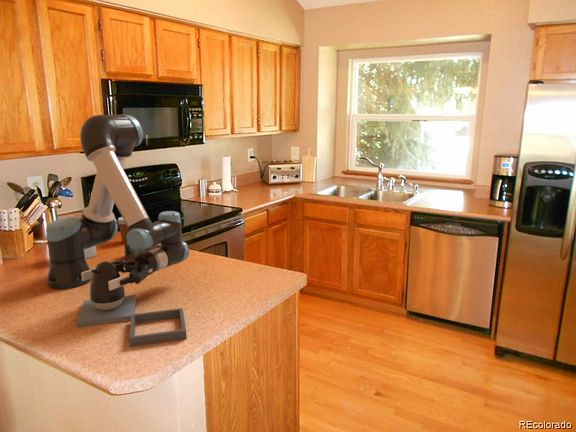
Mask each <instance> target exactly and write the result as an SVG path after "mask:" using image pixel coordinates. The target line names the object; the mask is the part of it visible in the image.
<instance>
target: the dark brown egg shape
mask: <svg viewBox="0 0 576 432" xmlns="http://www.w3.org/2000/svg"><path fill="white" fill-rule="evenodd" d="M111 262H112V261H107V260H104V261H101V262H99V263H97V264H98V265H96V267H95V268H96V269H94V268H91V269H92V270H91V269H90V270H91V272H92V273H93V277H92V280H91V281H90V287H89V300H91V301H92V303H93V305H94V306H95V307H96V308H97V309H100V310H105V311H106V310H112V309H115V308H117V307H118V306H119V305H120V304H121V303H122V301H123V298H124V296H126V293H125V291H126V290H125V285H124V286H121V287H118V288H116V289H113V290H109V285H108V281H111V280H114V279H116V278H119V277H121V274H120V272H118V270H117V269H116V267H115V266H114V265H113V264H112V263H111Z"/></svg>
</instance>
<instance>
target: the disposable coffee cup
mask: <svg viewBox="0 0 576 432" xmlns="http://www.w3.org/2000/svg"><path fill="white" fill-rule="evenodd" d="M116 221H117V222H116V223H117V224H118V228H119V232H120V236H121V240H122V243H124V244H128V243H127V234H128V232H129V229H128V227H127V225H126V223H125V221H124V219H123V217H122V216H121V217H118V218H117V220H116Z"/></svg>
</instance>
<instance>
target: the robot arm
mask: <svg viewBox="0 0 576 432" xmlns="http://www.w3.org/2000/svg"><path fill="white" fill-rule="evenodd" d="M79 139H80V140H79V141H80V145H81V147H82V148H81V149H82V151H83V154H84V155H85V157H86V159H87V161H89V162H92V164H93V166H94V167H95V169H96V174H95V178H94V181H93V186H92V191H91V194H90V199H89V203H88V205H87V206H86V207H84V209H82V214H81V218H79V217H76V216H67V217H64V218H59V219H56V220H53V221H51V222H50V223H48V224H47V226H46V228H45V230H46V231H45V233H46V235H45V238H46V243H47V250H48V256H49V258H48V259H49V269H48V274H47V277H46V283H47V286H48V287H49V288H51V289H58V290H60V289H61V290H62V289H63V290H65V289H72V288H77V287H80V286H83V285H87V284H88V283H89V282H91V281H92V277H93V273H92V272H91V270H92V269H96V267H93V268H90V266H89V264H88V262H87V261H86V260H87V259H85V255H84V249H87V248H90V247H93V246H96V247H97V246H98V245H102V244H106V243H108V242H109V241H111V240H113V239H114V238H115V237H116V235H117V232H118V228H119V224H118V222H117V221H118V220H117V219H116V216H115V214H114V212H113V209H114V208H113V207H114V205H115V206H116V208H117V210H118V212H119V214H120V215H121V217H123V219H124V221H125V223H126V225H127V227H128V229H129V232H128V234H127V243H126V244H128V245H129V247H130V248H131V249H133V250H135V251H141V250H144V249H149V248H151V247H152V246H154V245H161V247H160V248H156V249H153V250H150V251H148V252H145V253H141V254H139V255H137V257H136V259H133V260H129V259H128V258H125V259H120V260H114V261H110V262H111V263H112V264H113V265H114V266H115V267H116V269H117V270H118V272H119V273H120V272H121V273H122V274H125V273H128V274H125V275H122V276H120V277H119V278H116V279H114V280H111V281H108V285H109V290H113V289H116V288H118V287H121V286H124V287H125V285H128V284H135V285H139V284H140V283H142V281H144V280H145V279H146V278H147V277H149V276H150V275H152V274H153V273H155V272H160V271H161V270H163V269H165V268H168V267H169V268H170V267H171V266H173V265H177V264H180V263H181V262H184V261H185V260H187V259H188V258H189V257H190V248H189V245H188V244H187V242H185V241H184V240H183V239H182V220H181V214H180V212H178V211H175V210H166V211H162V212H160V213H159V214H158V218H157V219H158V220H157V221H154V222H152V220H151V219H150V217H149V215H148V214H147V211H146V210H145V207H144V205H143V204H142V202H141V199H140V198H139V196H138V194H137V192H136V191H135V189H134V187H133V185H132V183H131V181H130V179H129V177H128V175H127V173H126V172H125V170H124V167H125V164H126V160H127V159H129V158H131V156H132V153H133V151H134V148H136V147H138V146H139V145H141V144H142V142H143V139H144V132H143V127H142V126H141V123H140V122H139V121H138V120H137V119H136V118H135V117H134V116H133V115H129V114H123V113H122V114H121V113H120V114H96V115H92V116H90V117H88V118H87V119H86V120H85V121H84V122H83V124H82V126H81V129H80V136H79ZM98 264H99V263H97V265H98ZM97 265H96V266H97Z"/></svg>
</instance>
